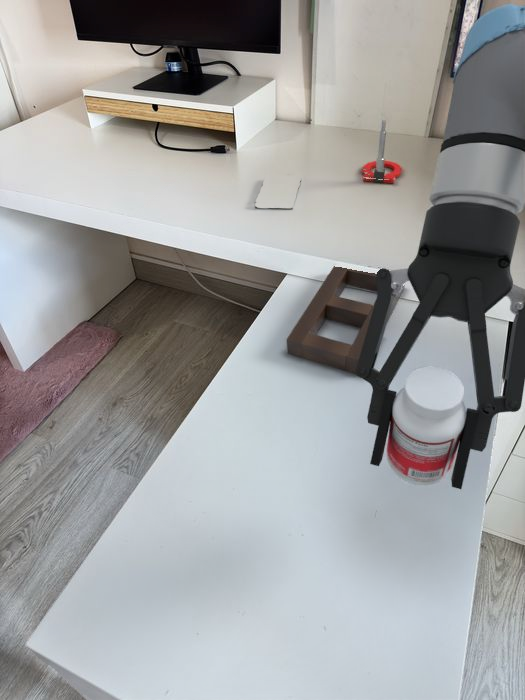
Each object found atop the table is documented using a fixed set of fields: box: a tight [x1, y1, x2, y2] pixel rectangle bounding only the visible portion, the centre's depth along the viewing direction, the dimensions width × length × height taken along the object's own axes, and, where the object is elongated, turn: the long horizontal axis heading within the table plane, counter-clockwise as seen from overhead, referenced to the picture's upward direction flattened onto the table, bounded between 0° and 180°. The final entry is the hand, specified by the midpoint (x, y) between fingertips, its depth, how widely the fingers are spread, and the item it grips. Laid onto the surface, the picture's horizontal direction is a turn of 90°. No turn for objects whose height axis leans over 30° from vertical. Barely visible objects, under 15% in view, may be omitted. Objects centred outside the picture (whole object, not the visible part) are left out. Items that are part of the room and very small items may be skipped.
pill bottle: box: [386, 365, 467, 486], centre depth 45 cm, size 6×6×11 cm
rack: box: [286, 265, 406, 374], centre depth 80 cm, size 12×21×3 cm, turn 152°
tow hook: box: [362, 119, 402, 184], centre depth 108 cm, size 8×13×9 cm
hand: (415, 472), depth 44 cm, fingers closed on pill bottle, 6 cm apart
